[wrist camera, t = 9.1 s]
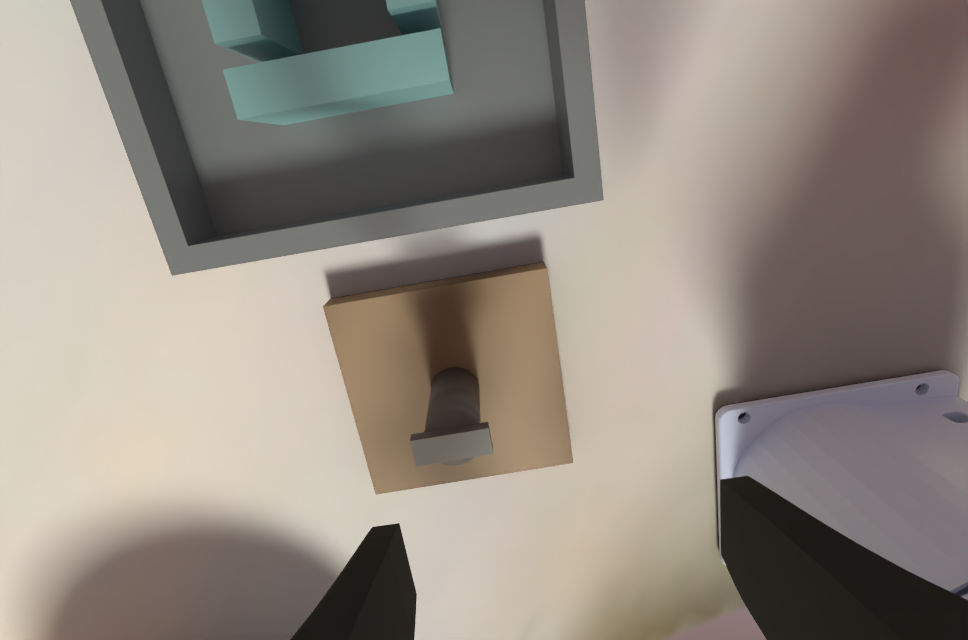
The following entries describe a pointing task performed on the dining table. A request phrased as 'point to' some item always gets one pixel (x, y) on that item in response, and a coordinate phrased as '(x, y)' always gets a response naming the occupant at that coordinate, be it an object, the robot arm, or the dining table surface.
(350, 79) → the collar
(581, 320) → the dining table surface
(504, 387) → the stake board
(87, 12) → the tray
